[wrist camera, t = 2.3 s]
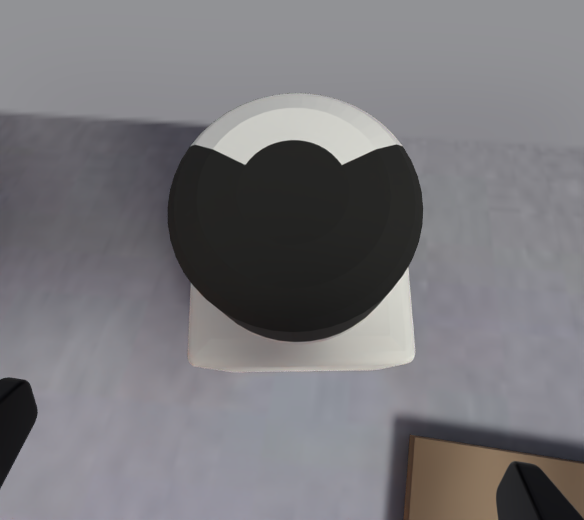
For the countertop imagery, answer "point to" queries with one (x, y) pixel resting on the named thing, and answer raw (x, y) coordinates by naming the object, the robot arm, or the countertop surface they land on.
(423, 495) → the walnut board
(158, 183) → the countertop surface
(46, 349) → the countertop surface
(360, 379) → the countertop surface
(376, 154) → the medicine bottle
